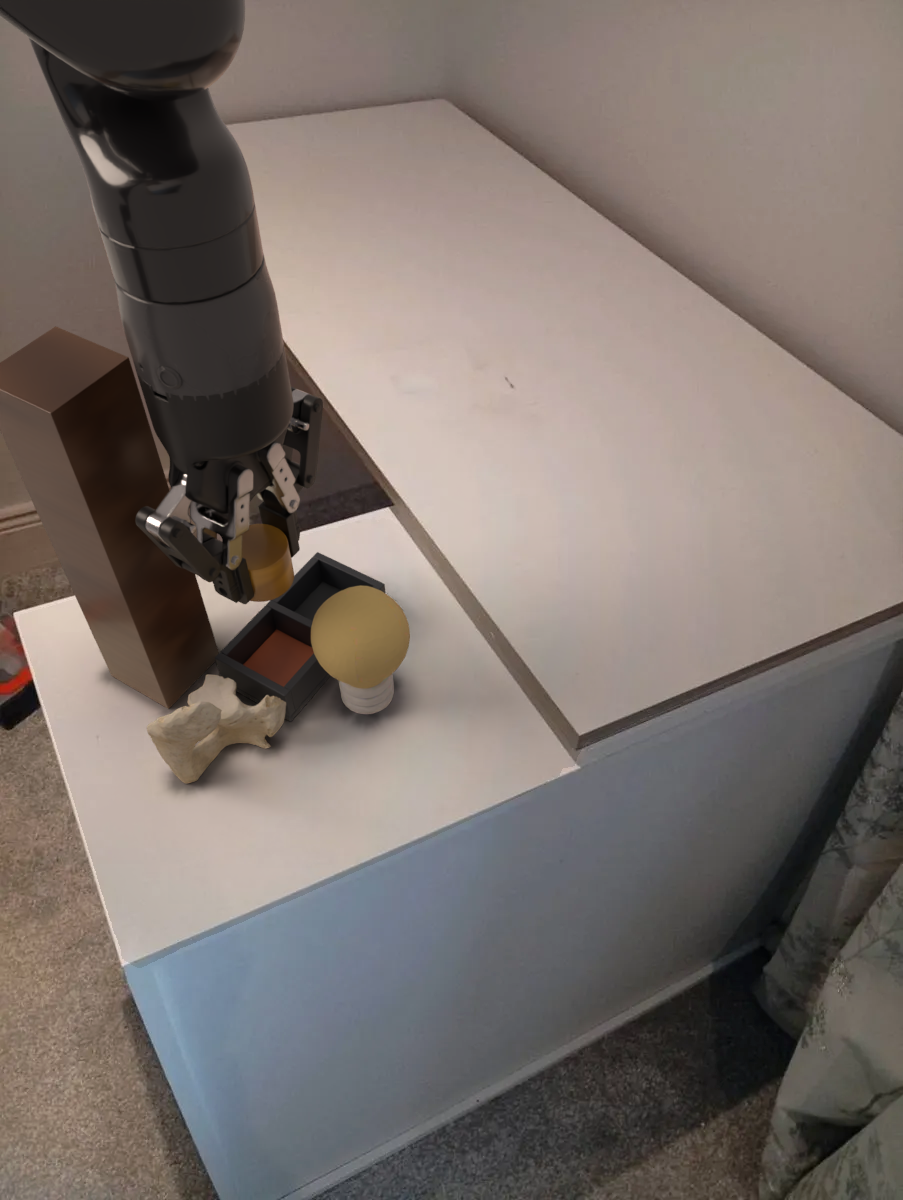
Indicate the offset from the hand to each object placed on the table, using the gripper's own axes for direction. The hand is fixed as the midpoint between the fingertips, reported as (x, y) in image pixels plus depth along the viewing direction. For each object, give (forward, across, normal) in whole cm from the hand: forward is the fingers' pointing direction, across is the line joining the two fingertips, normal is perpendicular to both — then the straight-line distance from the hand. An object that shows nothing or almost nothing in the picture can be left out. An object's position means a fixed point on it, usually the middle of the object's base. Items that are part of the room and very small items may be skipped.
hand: (261, 572), depth 62 cm
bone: (+11, +7, 0) cm, 13 cm away
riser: (+11, +4, -8) cm, 14 cm away
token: (+1, 0, 0) cm, 1 cm away
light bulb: (+11, -1, +6) cm, 13 cm away
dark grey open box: (+11, -3, 0) cm, 11 cm away
